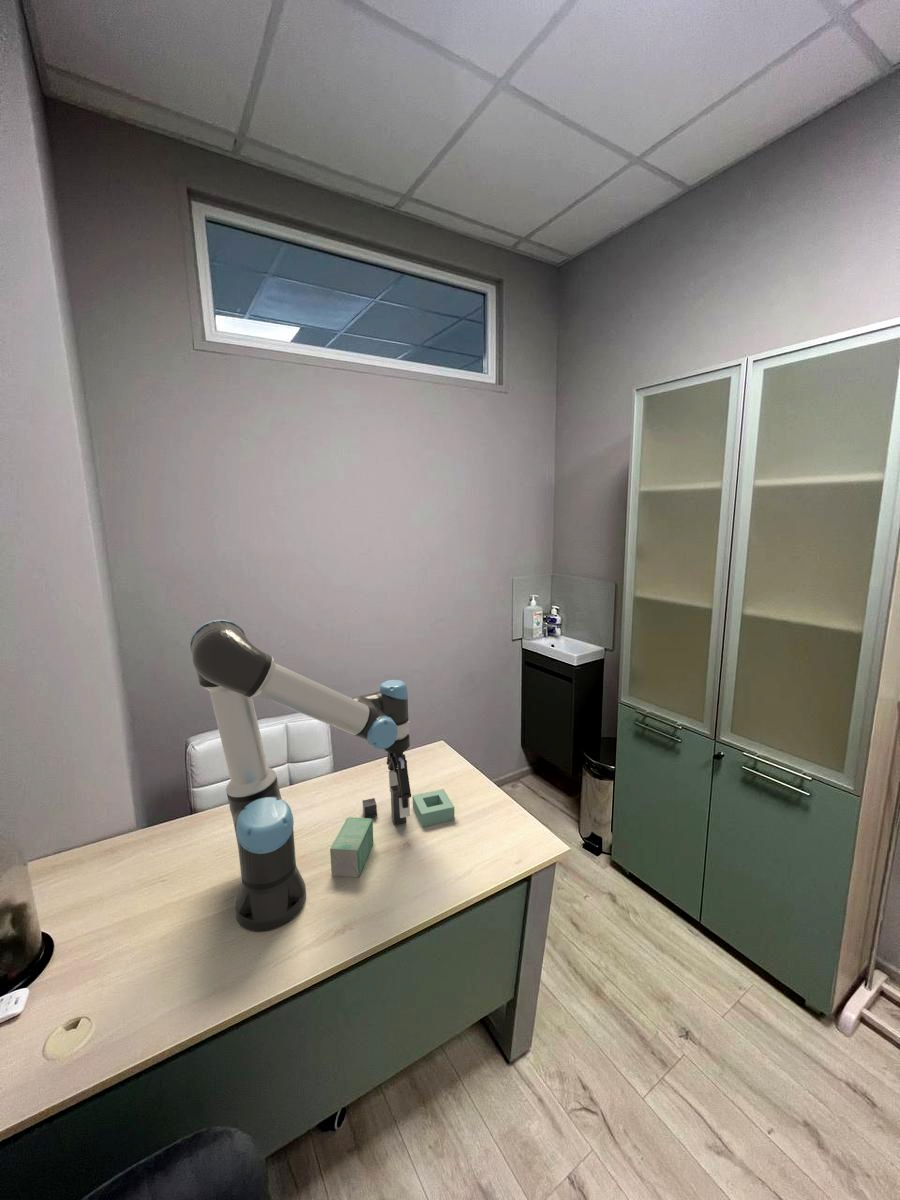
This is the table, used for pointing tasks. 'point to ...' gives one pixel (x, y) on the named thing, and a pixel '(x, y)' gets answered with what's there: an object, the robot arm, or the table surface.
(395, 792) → the long pin
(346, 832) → the box
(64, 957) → the table surface
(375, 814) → the short pin
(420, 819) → the hole block
